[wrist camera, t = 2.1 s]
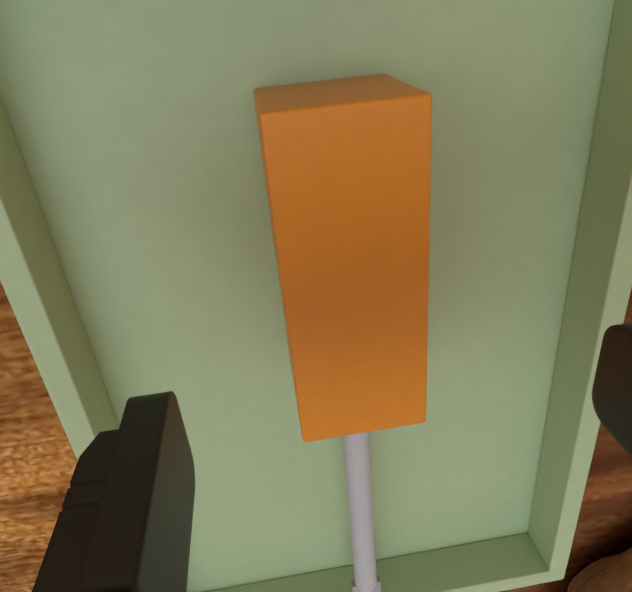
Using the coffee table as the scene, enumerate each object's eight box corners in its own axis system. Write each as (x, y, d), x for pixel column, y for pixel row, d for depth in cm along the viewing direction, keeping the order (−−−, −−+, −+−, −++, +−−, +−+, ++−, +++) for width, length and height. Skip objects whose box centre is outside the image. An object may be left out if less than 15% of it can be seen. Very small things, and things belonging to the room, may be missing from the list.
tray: (-91, -86, 12) (-169, -108, 9) (653, -148, 13) (741, -181, 11) (167, 596, 24) (161, 657, 22) (535, 529, 26) (564, 579, 23)
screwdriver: (318, 564, 24) (332, 655, 20) (252, 88, 14) (258, 113, 11) (396, 550, 24) (422, 637, 21) (386, 73, 14) (433, 93, 11)
